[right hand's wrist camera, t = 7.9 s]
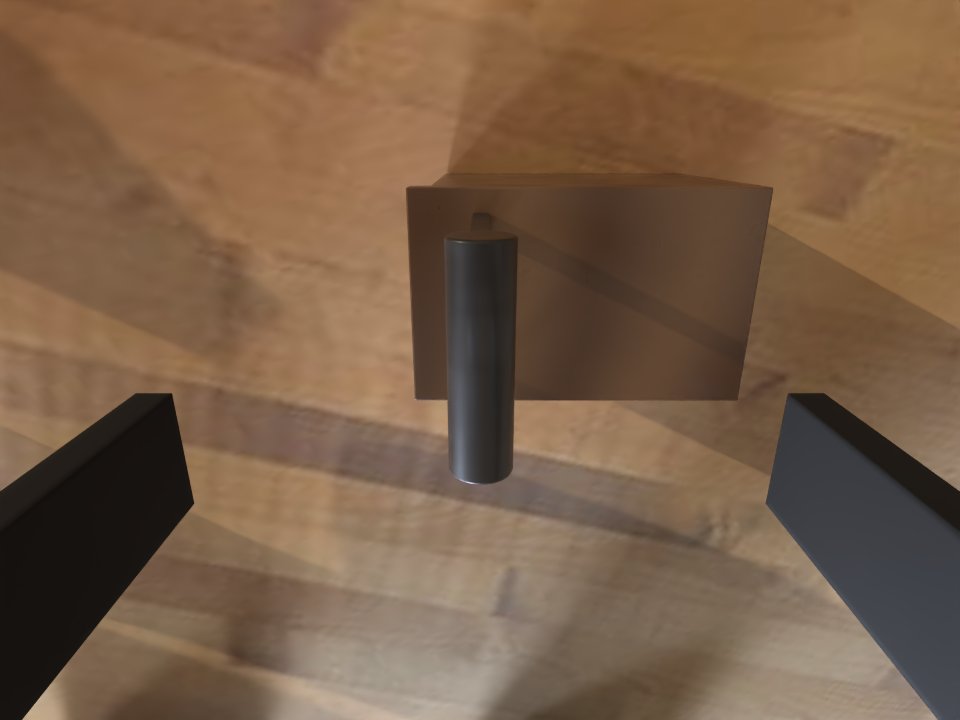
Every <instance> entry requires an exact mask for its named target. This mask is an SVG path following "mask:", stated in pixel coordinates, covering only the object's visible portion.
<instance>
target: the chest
mask: <svg viewBox="0 0 960 720" xmlns="http://www.w3.org/2000/svg"><path fill="white" fill-rule="evenodd" d="M432 186H760V185H753V184H746V183H739V182H732V181H725V180H718V179H712V178H705V177H698V176H691V175H684V174H445V175H444V176H443V177H442V178H440V179H439V180H438V181H437V182H435V183H434V184H433V185H432Z"/></svg>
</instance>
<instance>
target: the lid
mask: <svg viewBox="0 0 960 720" xmlns="http://www.w3.org/2000/svg"><path fill="white" fill-rule="evenodd" d="M772 193H773V188H772V187H766V186H409V187H407V188H406V201H407V225H408V248H409V271H410V295H411V318H412V341H413V364H414V388H415V400H448V440H449V469H450V472H451V473H452V475H453V476H454V477H455V478H457V479H458V480H460V481H463V482H466V483H470V484H478V485H484V484H492V483H496V482H499V481H502V480H504V479H505V478H507V477H508V476H509V475H510V473H511V471H512V469H513V438H514V400H737V399H738V394H739V388H740V382H741V376H742V370H743V364H744V358H745V352H746V346H747V341H748V335H749V329H750V323H751V317H752V311H753V305H754V299H755V293H756V288H757V282H758V276H759V270H760V264H761V258H762V252H763V246H764V240H765V234H766V229H767V223H768V217H769V211H770V205H771V199H772Z"/></svg>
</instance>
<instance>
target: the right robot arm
mask: <svg viewBox="0 0 960 720" xmlns="http://www.w3.org/2000/svg"><path fill="white" fill-rule="evenodd" d="M193 504H194V500H193V495H192V490H191V485H190V480H189V475H188V470H187V465H186V460H185V455H184V450H183V446H182V441H181V436H180V431H179V426H178V421H177V416H176V411H175V406H174V401H173V396H172V393H136V394H135V395H133V396H132V397H130V398H129V399H128V400H126V401H125V402H123V403H122V404H121V405H119V406H118V407H117V408H115V409H114V410H112V411H111V412H110V413H108V414H107V415H105V416H104V417H103V418H101V419H100V420H99V421H97V422H96V423H94V424H93V425H92V426H90V427H89V428H87V429H86V430H85V431H83V432H82V433H81V434H79V435H78V436H76V437H75V438H74V439H72V440H71V441H69V442H68V443H67V444H65V445H64V446H63V447H61V448H60V449H58V450H57V451H56V452H54V453H53V454H51V455H50V456H49V457H47V458H46V459H45V460H43V461H42V462H40V463H39V464H38V465H36V466H35V467H33V468H32V469H31V470H29V471H28V472H27V473H25V474H24V475H22V476H21V477H20V478H18V479H17V480H15V481H14V482H13V483H11V484H10V485H9V486H7V487H6V488H4V489H3V490H2V491H0V720H22V719H23V718H24V717H25V715H26V714H27V713H28V712H29V710H30V709H31V708H32V706H33V705H34V704H35V703H36V701H37V700H38V699H39V698H40V696H41V695H42V694H43V693H44V691H45V690H46V689H47V688H48V686H49V685H50V684H51V683H52V681H53V680H54V679H55V678H56V676H57V675H58V674H59V673H60V671H61V670H62V669H63V668H64V666H65V665H66V664H67V663H68V661H69V660H70V659H71V658H72V656H73V655H74V654H75V653H76V651H77V650H78V649H79V648H80V646H81V645H82V644H83V642H84V641H85V640H86V639H87V637H88V636H89V635H90V634H91V632H92V631H93V630H94V629H95V627H96V626H97V625H98V624H99V622H100V621H101V620H102V619H103V617H104V616H105V615H106V614H107V612H108V611H109V610H110V609H111V607H112V606H113V605H114V604H115V602H116V601H117V600H118V599H119V597H120V596H121V595H122V594H123V592H124V591H125V590H126V589H127V587H128V586H129V585H130V584H131V582H132V581H133V580H134V578H135V577H136V576H137V575H138V573H139V572H140V571H141V570H142V568H143V567H144V566H145V565H146V563H147V562H148V561H149V560H150V558H151V557H152V556H153V555H154V553H155V552H156V551H157V550H158V548H159V547H160V546H161V545H162V543H163V542H164V541H165V540H166V538H167V537H168V536H169V535H170V533H171V532H172V531H173V530H174V528H175V527H176V526H177V525H178V523H179V522H180V521H181V520H182V518H183V517H184V516H185V514H186V513H187V512H188V511H189V509H190V508H191V507H192V506H193ZM766 504H767V506H768V507H769V508H770V509H771V511H772V512H773V513H774V514H775V516H776V517H777V518H778V520H779V521H780V522H781V523H782V525H783V526H784V527H785V528H786V530H787V531H788V532H789V533H790V535H791V536H792V537H793V538H794V540H795V541H796V542H797V543H798V545H799V546H800V547H801V548H802V550H803V551H804V552H805V553H806V555H807V556H808V557H809V558H810V560H811V561H812V562H813V563H814V565H815V566H816V567H817V568H818V570H819V571H820V572H821V573H822V575H823V576H824V577H825V578H826V580H827V581H828V582H829V584H830V585H831V586H832V587H833V589H834V590H835V591H836V592H837V594H838V595H839V596H840V597H841V599H842V600H843V601H844V602H845V604H846V605H847V606H848V607H849V609H850V610H851V611H852V612H853V614H854V615H855V616H856V617H857V619H858V620H859V621H860V622H861V624H862V625H863V626H864V627H865V629H866V630H867V631H868V632H869V634H870V635H871V636H872V637H873V639H874V640H875V641H876V642H877V644H878V645H879V646H880V648H881V649H882V650H883V651H884V653H885V654H886V655H887V656H888V658H889V659H890V660H891V661H892V663H893V664H894V665H895V666H896V668H897V669H898V670H899V671H900V673H901V674H902V675H903V676H904V678H905V679H906V680H907V681H908V683H909V684H910V685H911V686H912V688H913V689H914V690H915V691H916V693H917V694H918V695H919V696H920V698H921V699H922V700H923V701H924V703H925V704H926V705H927V706H928V708H929V709H930V710H931V712H932V713H933V714H934V715H935V717H936V718H937V719H938V720H960V491H958V490H957V489H956V488H954V487H953V486H951V485H950V484H949V483H947V482H946V481H945V480H943V479H942V478H940V477H939V476H938V475H936V474H935V473H933V472H932V471H931V470H929V469H928V468H927V467H925V466H924V465H922V464H921V463H920V462H918V461H917V460H915V459H914V458H913V457H911V456H910V455H909V454H907V453H906V452H904V451H903V450H902V449H900V448H899V447H897V446H896V445H895V444H893V443H892V442H891V441H889V440H888V439H886V438H885V437H884V436H882V435H881V434H879V433H878V432H877V431H875V430H874V429H873V428H871V427H870V426H868V425H867V424H866V423H864V422H863V421H861V420H860V419H859V418H857V417H856V416H855V415H853V414H852V413H850V412H849V411H848V410H846V409H845V408H843V407H842V406H841V405H839V404H838V403H837V402H835V401H834V400H832V399H831V398H830V397H828V396H827V395H825V394H824V393H788V396H787V401H786V406H785V411H784V416H783V421H782V426H781V431H780V436H779V441H778V446H777V450H776V455H775V460H774V465H773V470H772V475H771V480H770V485H769V490H768V495H767V500H766Z"/></svg>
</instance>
